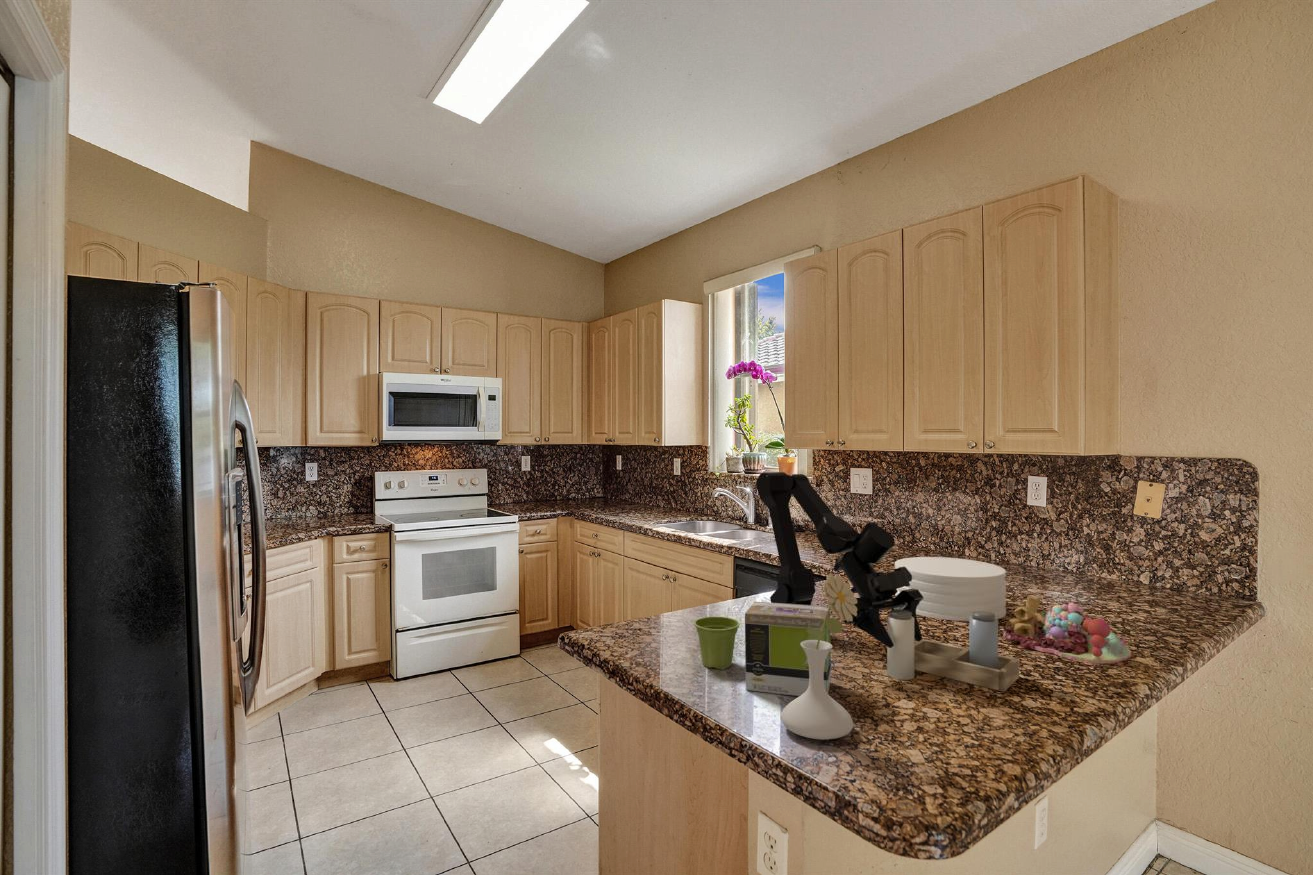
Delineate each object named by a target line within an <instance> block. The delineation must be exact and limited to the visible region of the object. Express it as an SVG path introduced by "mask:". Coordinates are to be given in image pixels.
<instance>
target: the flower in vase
mask: <svg viewBox="0 0 1313 875" xmlns="http://www.w3.org/2000/svg"><path fill="white" fill-rule="evenodd" d="M822 588H823V591H824V598H825V599H826V600H827V601H826V605H827V607H829V609H828V611H827V613H826V617H825V620H824V623H823V626H822V629H821V631H820V630H816V629H814V628H812V627H811V626H809V625H808V628H807V633H811V634H814V635H819V638H818V640H806V641H803V642H801V646H802V648H803V649H804V651H805V653H806V656H807V659H808V664H809V686H808V689H807V691H806V692H805V693H803V694H802V695H801V696H797V697H796V698H795V699H793V700H792V701H791V702H788V704H786V706H784V708H783V709H782V710H781V714H780V717H779V718H780V721H781V723H782V724H783V726H784V727H785V728H786V729H787V730H788V731H790V732H791V733H794V734H796V735H799V736H801V737H804V738H807V739H813V740H832V739H833V740H835V739H839V738H842V737H846V736H847V735H848V734H849V733H850V732H851V731H852V729H853V728H854V721H853V719H852V716H851V714H850V713H849V712H848V711H847V709H845V708H844V707H843V706H842V705H841V704H840V703H839V702H838V701H837V700H835V699H834V698H833V697H832V696H830V695H829V693H828V694H827V692H826V690H825V688H824V665H825V660H826V657H827V654H828V653H829V651H830V650H832V649H833V644H831V642H830V643H828V642H825V641H820V639H821V636H822V634H823V630H824V627H825V624H826V627H827V628H828V630H829V631H830V633H831V634H833V635H836V634H839V633H841V631H843V628H844V626H843V624H842V622H841V621H839V620H838V619H840V620H842V621H843V622H844V621H845V620H846V621H848V622H849V620H850V621H853V617H852V615H851V614H853V615H854V616H857V607H856V606H855V605H854V604H857V599H856V598H857V597H855V594H853V592H852V591H851V585H850V584H849V583H845V581H844V579H843V577H842V576H840V575H839V574H838V573H835V575H833V573H832V572H830V573H829V574H828V575H827V576H826V580H824V582H823V587H822ZM831 611H832V613H834V616H835V617H836V618H837V619H836V618H834V617H830V618H829V619H828V621H827V617H828V614H829V612H831ZM826 621H827V622H826Z"/></svg>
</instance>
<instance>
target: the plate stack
mask: <svg viewBox="0 0 1313 875" xmlns="http://www.w3.org/2000/svg"><path fill="white" fill-rule="evenodd" d="M899 567H906V568H907V569H908V571H909V572H910V574H911V575H912V581H910V582H909V583H910V586H907V587H906V586H904V587H901V588H898V589H897V591H898V592H897V593H896V594H895V596H894V597H896V596H897V595H898V594H899V593H900V592H901V591H902V590H907V589H917V590H919V592H920V593H921V595H922V596H923V598H924V599H923V600H921V601H920V602H919V605H918V606H917V608H916V616H917V615H918V616H922V617H927V618H933V619H937V620H946V621H955V622H957V621H958V622H959V621H960V622H969V617H970V616H972V612H974V611H984V612H990V613H993V614H995V619H997V620H999V619H1002V618H1004V617H1005V616H1006V615H1007V608H1006V605H1007V599H1006V596H1007V590H1006V586H1007V579H1006V576H1007V570H1006V569H1005V568H1003V567H1001V566H999V565H996V564H993V563H988V562H983V561H978V560H974V559H966V558H956V557H945V556H943V557H942V556H940V557H939V556H917V557H915V556H913V557H906V558H901V559H897V560H896V561H894V569H897V568H899Z"/></svg>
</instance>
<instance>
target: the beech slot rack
mask: <svg viewBox="0 0 1313 875" xmlns="http://www.w3.org/2000/svg"><path fill="white" fill-rule="evenodd" d="M914 671H917V672H918V671H919V672H923V673H927V674H931V675H935V676H939V677H942V678H947V679H951V680H956V681H958V682H963V683H967V684H971V685H976V686H979V687H982V688H983V687H984V688H988V689H990V690H996V691H1000V692H1003V693H1005V692H1006V691H1007V690H1008V689H1010V687H1011V686H1012V685H1013V684H1014V683H1015V682H1016V681H1017V680H1018V679H1019V678H1020V659H1019V658H1014V657H1010V656H1006V655H1000V654H998V670H997V669H993V668H988V667H984V666H980V665H975V664H971V663H969V648H968V647H963V646H959V645H954V644H949V643H944V642H939V641H936V640H935V641H934V640H929V639H925V638H922V640H921V641H919V642H918V641H917V640H916V641H914Z"/></svg>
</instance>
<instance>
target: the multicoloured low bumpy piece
mask: <svg viewBox="0 0 1313 875" xmlns="http://www.w3.org/2000/svg"><path fill="white" fill-rule="evenodd" d="M1040 603H1041V599H1040V597H1037V596H1035V595H1029V596H1027V597H1026V602H1025V605H1022V606H1021V605H1020V606H1019V605H1018V607H1017V608H1016V609H1015V610H1014V611H1013V614H1014V616H1015V617H1016V618H1012V619H1011V618H1010V619H1009V620H1008V621H1007V622H1006V624H1005V627H1004V630H1003V638H1005V639H1007V640H1008V641H1007V642H1008V643H1012V642H1019V643H1020V644H1019V645H1018V647H1021V648H1026V649H1029V650H1036V651H1037V652H1041V653H1049V654H1054V655H1055V656H1059V658H1065V659H1069V660H1073V661H1080V662H1085V663H1089V664H1090V663H1091V664H1098V665H1099V664H1101V665H1102V664H1104V665H1105V664H1108V665H1109V664H1110V665H1111V664H1115V663H1120V662H1122V661H1127V660H1128V659H1130V658H1132V651H1131V650H1130V648H1128V647H1127V646H1126V644H1125V643H1126V637H1123V638H1120V637H1118V636H1117V635H1116V634H1115V633H1114V632H1113V631H1112V630H1111V626H1110V625H1109V623H1108V622H1107V621H1106V620H1104V619H1101V618H1094V619H1093V618H1091V616H1089V615H1088V614H1087V613H1086V612H1084V609H1083V607H1082V606H1079V605H1077V604H1076V603H1074V602H1069V603H1068V604H1066V603H1062V604H1061V605H1060V604H1058V603H1057V604H1055V605H1054V606H1053V604H1052V603H1051V604H1050V607H1049V610H1048V611H1047V613H1044V612H1043V611H1038V609H1039V607H1040V606H1041V605H1040Z"/></svg>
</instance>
